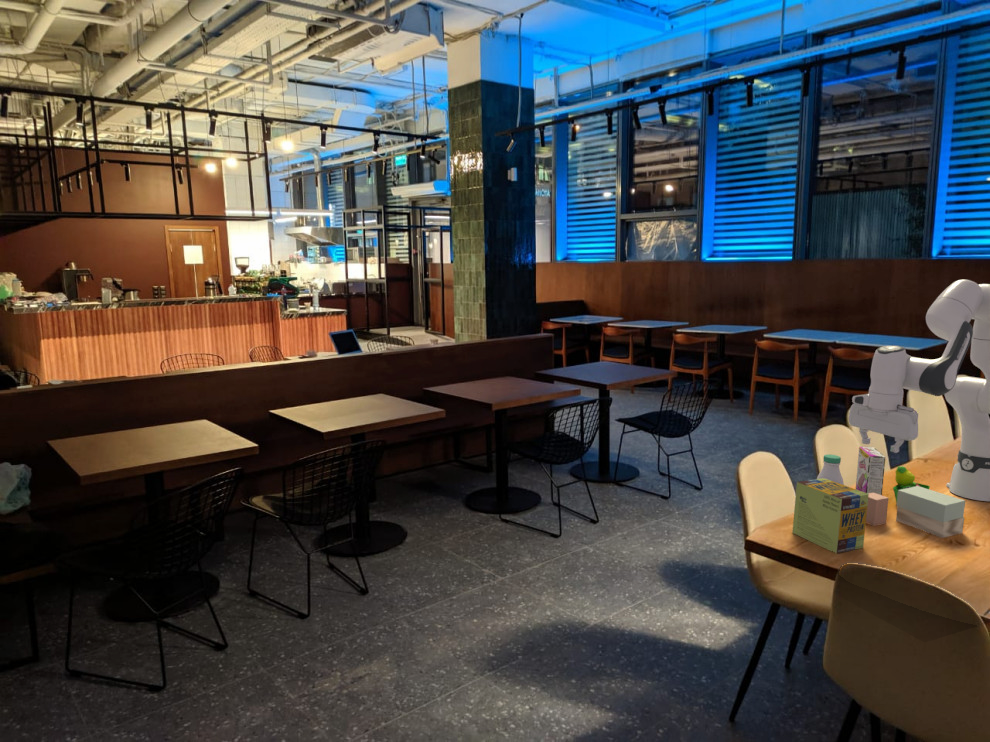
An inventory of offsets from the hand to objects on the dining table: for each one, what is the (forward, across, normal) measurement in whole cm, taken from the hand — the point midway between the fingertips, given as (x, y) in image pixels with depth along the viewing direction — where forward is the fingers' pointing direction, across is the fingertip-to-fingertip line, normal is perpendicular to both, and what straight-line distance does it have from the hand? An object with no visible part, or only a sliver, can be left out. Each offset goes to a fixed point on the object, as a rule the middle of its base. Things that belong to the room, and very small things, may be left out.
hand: (879, 447), depth 203 cm
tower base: (+23, -9, -12) cm, 28 cm away
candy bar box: (+23, +14, -15) cm, 31 cm away
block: (+23, 0, 0) cm, 23 cm away
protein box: (+23, -5, +24) cm, 34 cm away
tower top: (+18, -9, -12) cm, 23 cm away
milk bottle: (+23, +6, +12) cm, 27 cm away
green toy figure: (+23, +8, -26) cm, 36 cm away
